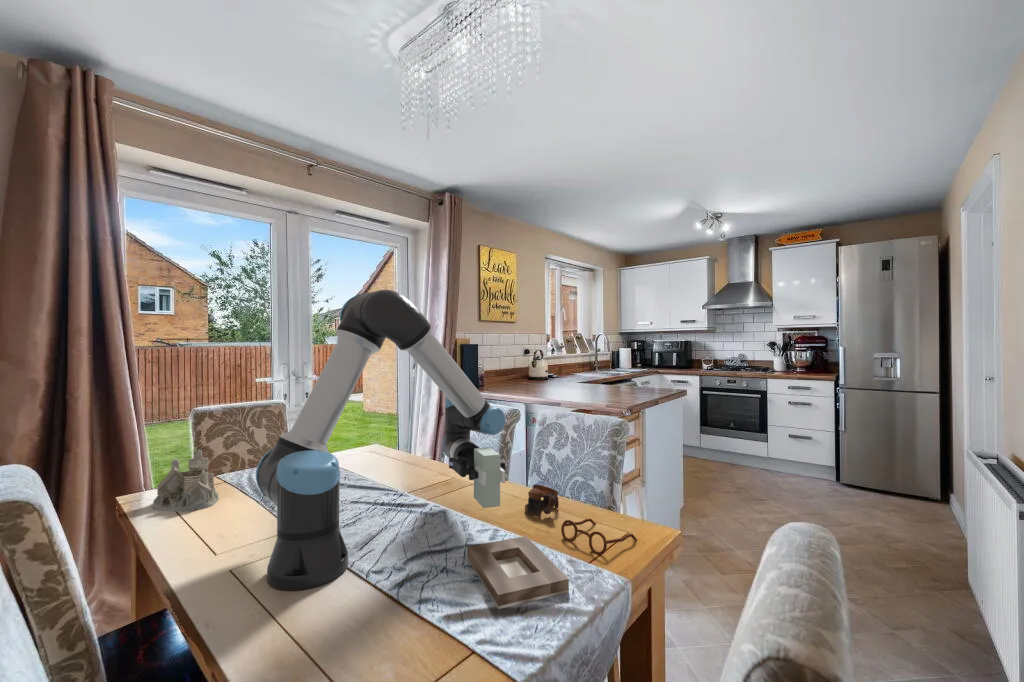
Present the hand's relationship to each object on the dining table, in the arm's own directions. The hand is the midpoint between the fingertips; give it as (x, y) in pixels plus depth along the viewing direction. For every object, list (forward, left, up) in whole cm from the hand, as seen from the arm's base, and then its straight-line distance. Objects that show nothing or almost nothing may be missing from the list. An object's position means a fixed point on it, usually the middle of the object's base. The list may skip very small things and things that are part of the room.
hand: (494, 478), depth 102 cm
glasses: (+19, -17, -17) cm, 30 cm away
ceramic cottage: (-35, +90, -16) cm, 97 cm away
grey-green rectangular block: (+3, +5, -7) cm, 9 cm away
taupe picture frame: (-7, -11, -16) cm, 20 cm away
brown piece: (+25, +3, -16) cm, 30 cm away
